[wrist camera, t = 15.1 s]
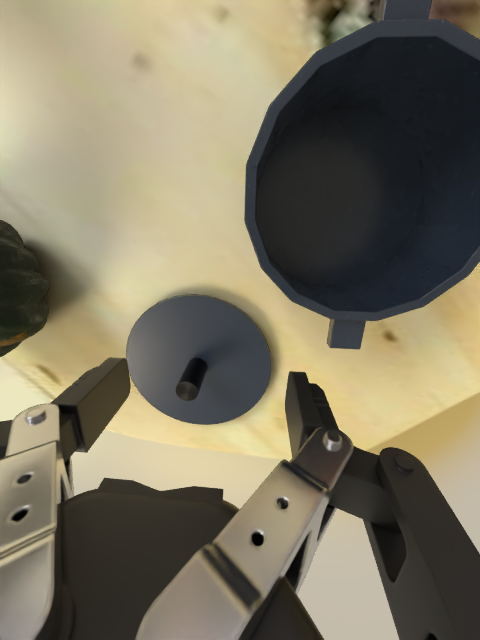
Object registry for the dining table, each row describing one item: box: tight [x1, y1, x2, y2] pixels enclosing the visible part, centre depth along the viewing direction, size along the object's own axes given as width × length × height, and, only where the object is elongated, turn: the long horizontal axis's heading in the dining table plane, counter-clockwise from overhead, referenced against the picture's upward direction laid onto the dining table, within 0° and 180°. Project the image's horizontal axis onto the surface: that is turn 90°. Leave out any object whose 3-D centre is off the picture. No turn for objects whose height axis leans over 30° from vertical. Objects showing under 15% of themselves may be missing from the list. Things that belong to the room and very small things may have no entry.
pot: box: [245, 0, 480, 349], centre depth 21 cm, size 17×22×10 cm
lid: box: [126, 294, 271, 425], centre depth 29 cm, size 18×18×6 cm
